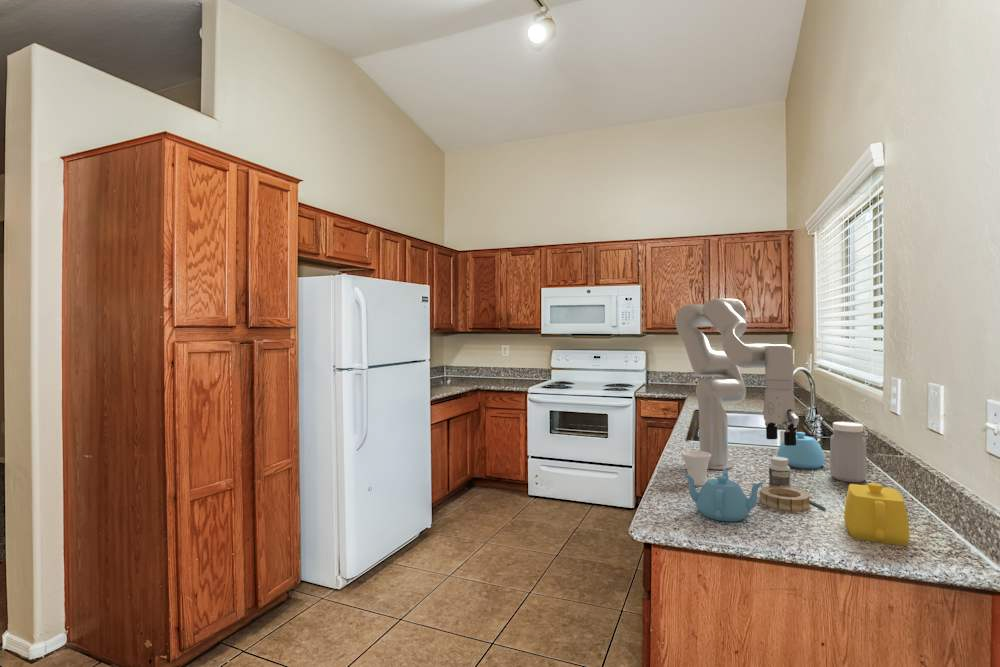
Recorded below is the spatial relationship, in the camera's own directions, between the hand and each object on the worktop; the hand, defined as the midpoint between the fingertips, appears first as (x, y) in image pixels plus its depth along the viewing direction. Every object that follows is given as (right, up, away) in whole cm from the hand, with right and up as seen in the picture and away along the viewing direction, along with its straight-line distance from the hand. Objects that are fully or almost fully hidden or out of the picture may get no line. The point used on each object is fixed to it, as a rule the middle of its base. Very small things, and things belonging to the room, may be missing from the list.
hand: (780, 442), depth 158 cm
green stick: (+3, -15, -10) cm, 18 cm away
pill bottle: (0, -15, +1) cm, 15 cm away
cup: (-22, -15, +9) cm, 28 cm away
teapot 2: (+6, -15, -31) cm, 35 cm away
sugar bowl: (+24, -15, +31) cm, 42 cm away
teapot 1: (-25, -16, -18) cm, 35 cm away
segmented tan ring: (-5, -15, -10) cm, 19 cm away
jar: (+29, -15, +12) cm, 35 cm away
